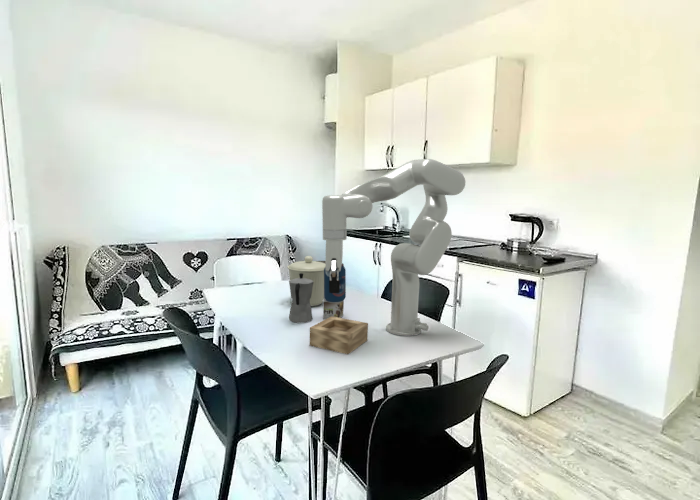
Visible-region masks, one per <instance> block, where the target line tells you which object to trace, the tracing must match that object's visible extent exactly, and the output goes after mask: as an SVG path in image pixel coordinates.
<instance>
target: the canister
mask: <svg viewBox="0 0 700 500" xmlns="http://www.w3.org/2000/svg"><path fill="white" fill-rule="evenodd" d="M313 260H314V258H313V257H312V256H311V255H306V256H305V257H304V260H299V261H294V262H292V263H290V264H288V265H287V266H286V267H287V269H288V273H289V274H288V276H289V280H292V279H297V278H300V276H299V274H300V273H302V274H303V278H306V279H310V280H312V281H313V288H312V294H311V298H310V305H311V307H315V306H316V307H317V306H320V305H322V303H324V268H325V263H322V262H317V261H318V260H315V261H313Z"/></svg>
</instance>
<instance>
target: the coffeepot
mask: <svg viewBox="0 0 700 500" xmlns="http://www.w3.org/2000/svg"><path fill="white" fill-rule="evenodd" d="M299 276H300V278H297V279H292V280H290V279H289V280H288V282H289V292H290V297H291V304H290V309H289V314H288V320H289V321H290V322H292V323H297V324H305V323H310V322H312V320H313V319H314V318H313V313H312V306H311V305H310V298H311V294H312V288H313V281H312V280H310V279H306V278H303V274H302V273H300V274H299Z"/></svg>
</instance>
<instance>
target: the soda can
mask: <svg viewBox="0 0 700 500" xmlns="http://www.w3.org/2000/svg"><path fill="white" fill-rule="evenodd" d="M337 269H338V267H337ZM337 269H336V270H337ZM331 270H332V269H331ZM346 272H347V271H346V268H345V265H344V263H343V262H342V266H341V271H340V272H339V280H340V292H339V293H329V280H330V269H329V271H328V272H326V271H325V268H324V298H325V299H326V301H327V302H329V303H340V302H343V301H344V302H345V300H346V297H347V292H346V290H347V289H346V288H347V286H346V283H347V282H346V281H347V278H346V275H347V274H346Z"/></svg>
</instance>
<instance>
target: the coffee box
mask: <svg viewBox="0 0 700 500" xmlns="http://www.w3.org/2000/svg"><path fill="white" fill-rule="evenodd" d="M344 302H345V300H344V301H343V302H340V303H329V302H327V301H326V299H325V298H324V299H323V310H322V312H323V313H322V321H323V320H325V319H327V318H329V317H331V316H333V317H338V318H343V316H344V310H345V308H344V306H345V305H344V304H345V303H344Z"/></svg>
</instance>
